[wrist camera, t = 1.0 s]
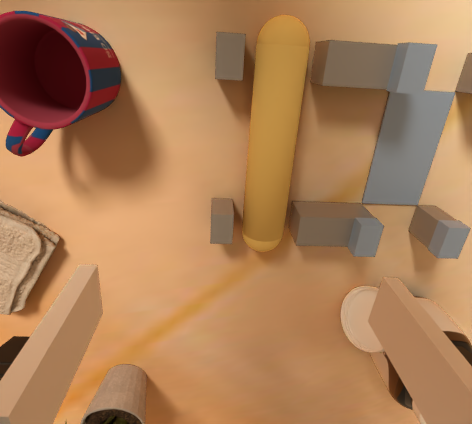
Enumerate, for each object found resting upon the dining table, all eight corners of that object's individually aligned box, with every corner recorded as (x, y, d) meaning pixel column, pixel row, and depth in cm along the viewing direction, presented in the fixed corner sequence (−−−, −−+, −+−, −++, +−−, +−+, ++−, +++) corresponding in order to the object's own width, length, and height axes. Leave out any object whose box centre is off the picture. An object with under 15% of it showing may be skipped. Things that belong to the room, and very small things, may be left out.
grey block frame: (216, 33, 25) (216, 28, 21) (491, 53, 27) (546, 52, 22) (210, 226, 33) (210, 253, 28) (426, 232, 34) (457, 258, 30)
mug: (137, 65, 26) (112, 68, 20) (75, 157, 29) (37, 185, 23) (60, 0, 24) (5, -19, 18) (1, 107, 27) (-63, 122, 21)
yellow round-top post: (255, 16, 25) (262, 9, 21) (306, 19, 25) (321, 13, 22) (239, 237, 34) (242, 259, 30) (276, 238, 34) (284, 260, 30)
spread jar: (414, 345, 42) (480, 441, 32) (329, 350, 42) (367, 449, 31) (438, 270, 37) (526, 355, 26) (341, 274, 36) (392, 363, 26)
